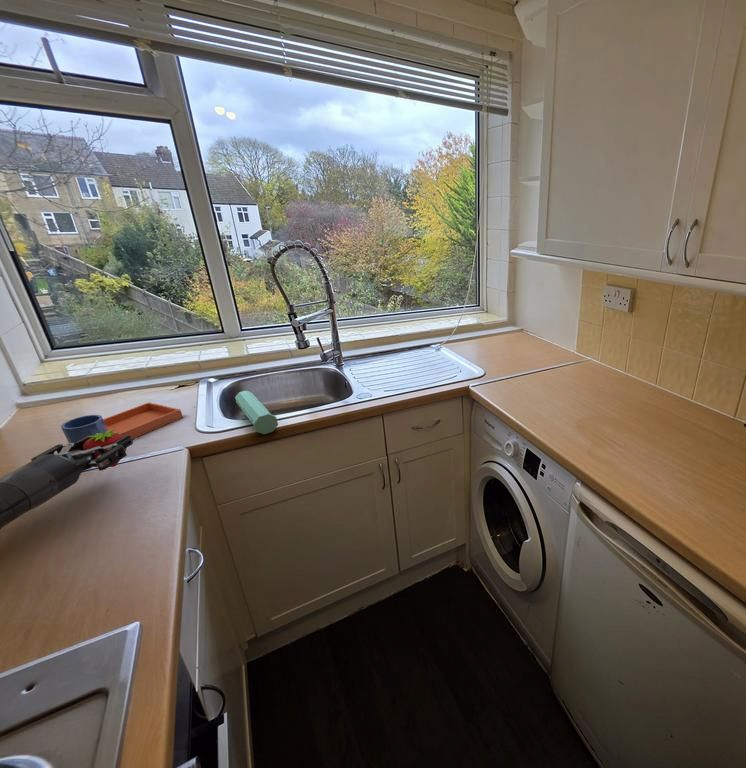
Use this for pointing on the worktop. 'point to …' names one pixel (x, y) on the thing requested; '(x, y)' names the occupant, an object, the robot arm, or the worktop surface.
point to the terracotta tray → (141, 419)
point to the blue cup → (83, 427)
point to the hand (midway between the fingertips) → (111, 438)
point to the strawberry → (102, 442)
